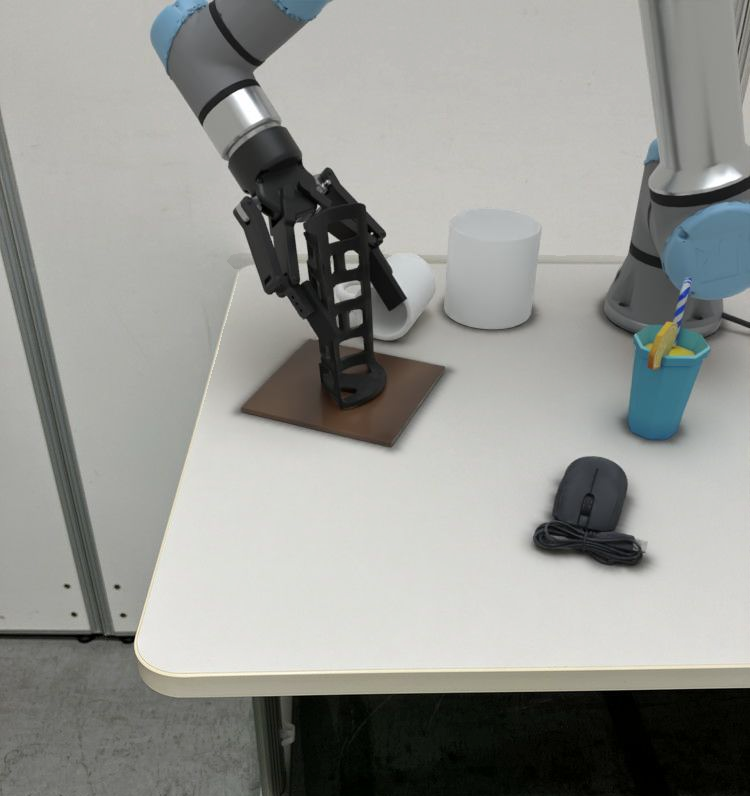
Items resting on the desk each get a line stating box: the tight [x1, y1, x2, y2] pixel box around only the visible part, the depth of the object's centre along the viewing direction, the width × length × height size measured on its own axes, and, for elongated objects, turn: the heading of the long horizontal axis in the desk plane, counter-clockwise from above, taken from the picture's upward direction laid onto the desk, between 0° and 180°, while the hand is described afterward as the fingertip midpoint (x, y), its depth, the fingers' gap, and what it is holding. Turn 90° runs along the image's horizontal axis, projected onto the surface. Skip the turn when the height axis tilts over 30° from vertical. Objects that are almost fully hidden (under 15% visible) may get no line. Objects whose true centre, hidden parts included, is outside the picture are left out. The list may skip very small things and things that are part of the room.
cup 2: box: [626, 277, 711, 441], centre depth 98 cm, size 14×8×15 cm, turn 158°
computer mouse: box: [532, 455, 649, 566], centre depth 88 cm, size 10×15×4 cm
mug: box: [335, 252, 437, 341], centre depth 119 cm, size 12×10×8 cm
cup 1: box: [443, 207, 543, 330], centre depth 121 cm, size 12×12×12 cm
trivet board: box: [240, 338, 446, 448], centre depth 107 cm, size 18×18×1 cm
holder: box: [302, 202, 387, 410], centre depth 101 cm, size 11×8×20 cm
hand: (366, 322), depth 100 cm, fingers closed on holder, 10 cm apart
